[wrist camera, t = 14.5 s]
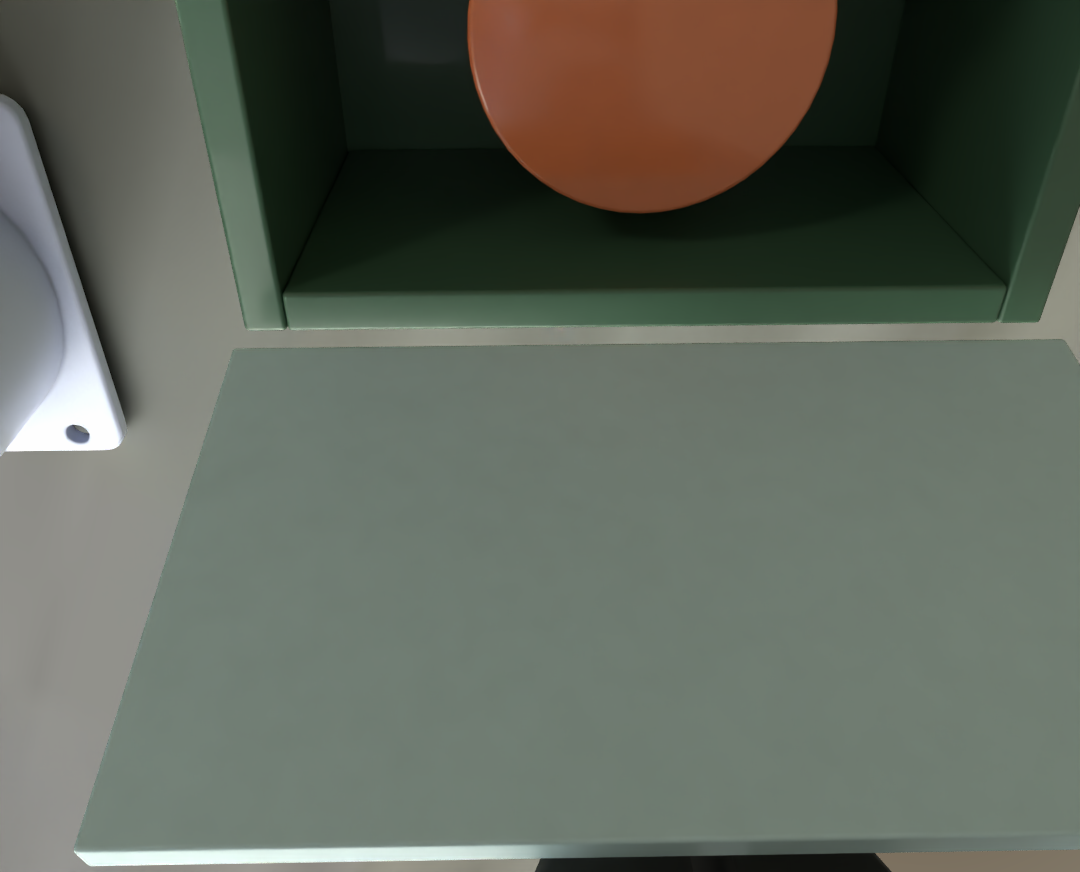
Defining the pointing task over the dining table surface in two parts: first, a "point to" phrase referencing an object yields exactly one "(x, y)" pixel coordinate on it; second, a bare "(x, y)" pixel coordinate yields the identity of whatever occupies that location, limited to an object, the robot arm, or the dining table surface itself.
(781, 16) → the pot
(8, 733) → the dining table surface
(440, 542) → the pale green slab
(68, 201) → the dining table surface
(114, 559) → the dining table surface
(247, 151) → the box
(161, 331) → the dining table surface
